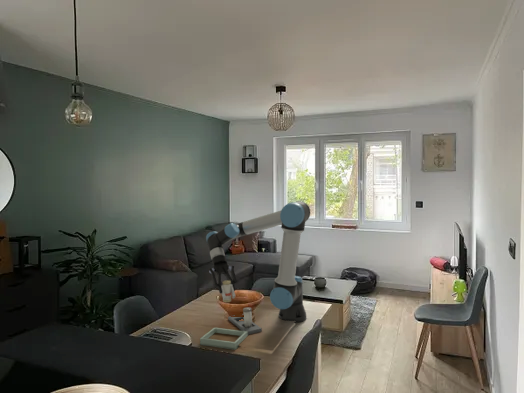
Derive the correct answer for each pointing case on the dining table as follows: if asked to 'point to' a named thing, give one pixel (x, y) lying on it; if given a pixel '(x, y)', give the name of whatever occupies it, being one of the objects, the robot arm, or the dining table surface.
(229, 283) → the marked fuse
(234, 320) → the fuse holder
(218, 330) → the tray
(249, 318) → the plain fuse
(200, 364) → the dining table surface
